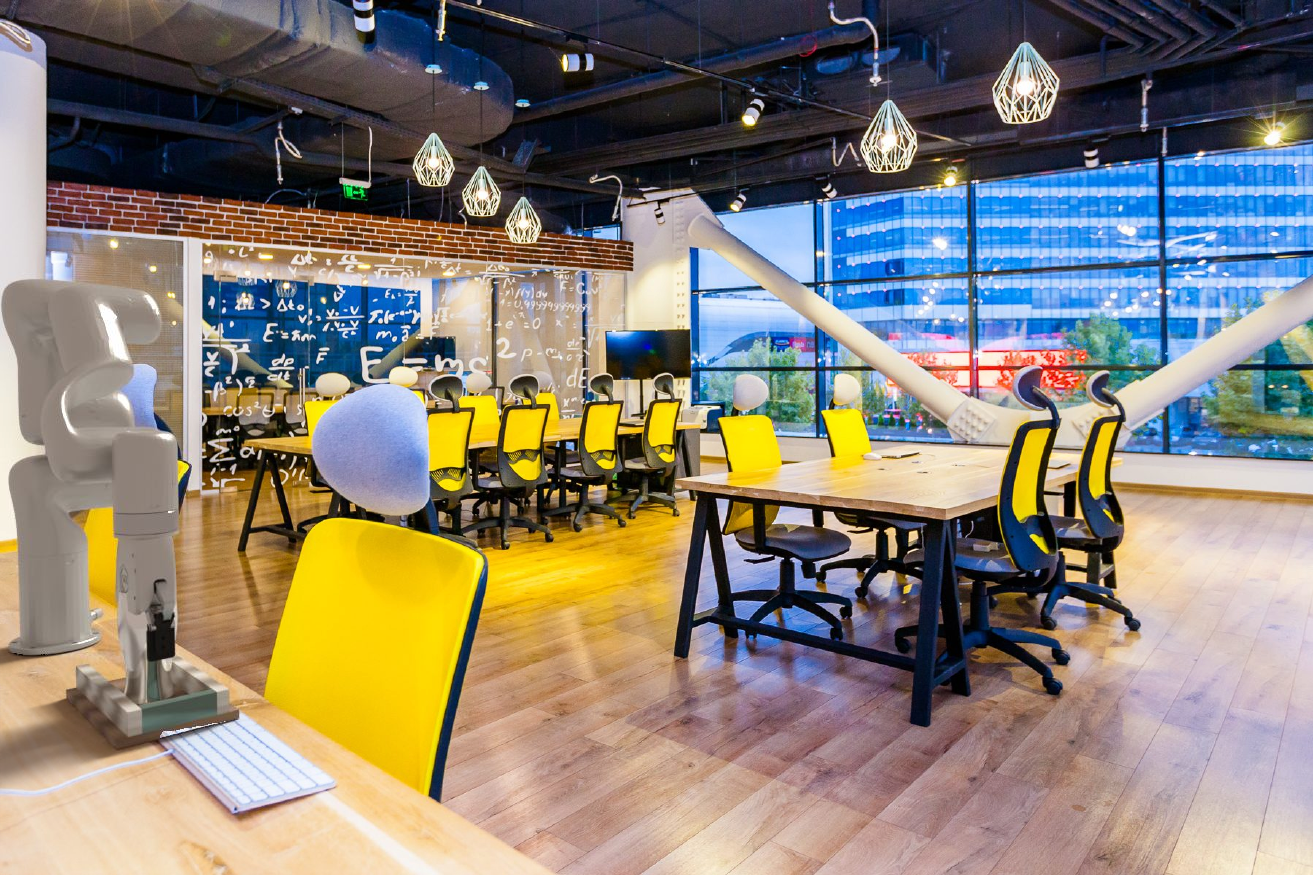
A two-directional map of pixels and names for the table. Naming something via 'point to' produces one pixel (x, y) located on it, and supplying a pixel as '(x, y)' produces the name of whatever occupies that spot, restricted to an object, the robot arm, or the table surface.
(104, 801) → the table surface
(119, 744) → the track board
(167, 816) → the table surface
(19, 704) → the table surface
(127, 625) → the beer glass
